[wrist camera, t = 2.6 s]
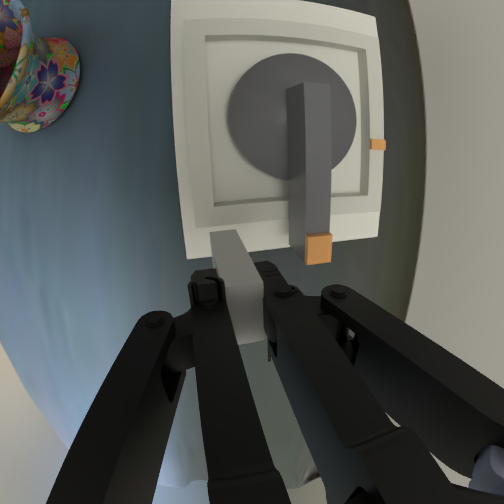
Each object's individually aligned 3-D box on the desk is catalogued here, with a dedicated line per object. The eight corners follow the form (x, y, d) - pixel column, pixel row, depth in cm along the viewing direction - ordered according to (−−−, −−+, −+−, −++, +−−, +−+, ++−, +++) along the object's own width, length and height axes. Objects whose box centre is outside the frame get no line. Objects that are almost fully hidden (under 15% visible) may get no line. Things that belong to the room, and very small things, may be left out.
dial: (224, 56, 18) (236, 33, 13) (344, 64, 20) (382, 52, 15) (234, 243, 24) (247, 273, 19) (344, 231, 26) (378, 254, 21)
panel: (172, 3, 16) (170, -11, 14) (368, 20, 19) (385, 12, 17) (187, 253, 25) (187, 268, 22) (370, 232, 28) (387, 242, 25)
